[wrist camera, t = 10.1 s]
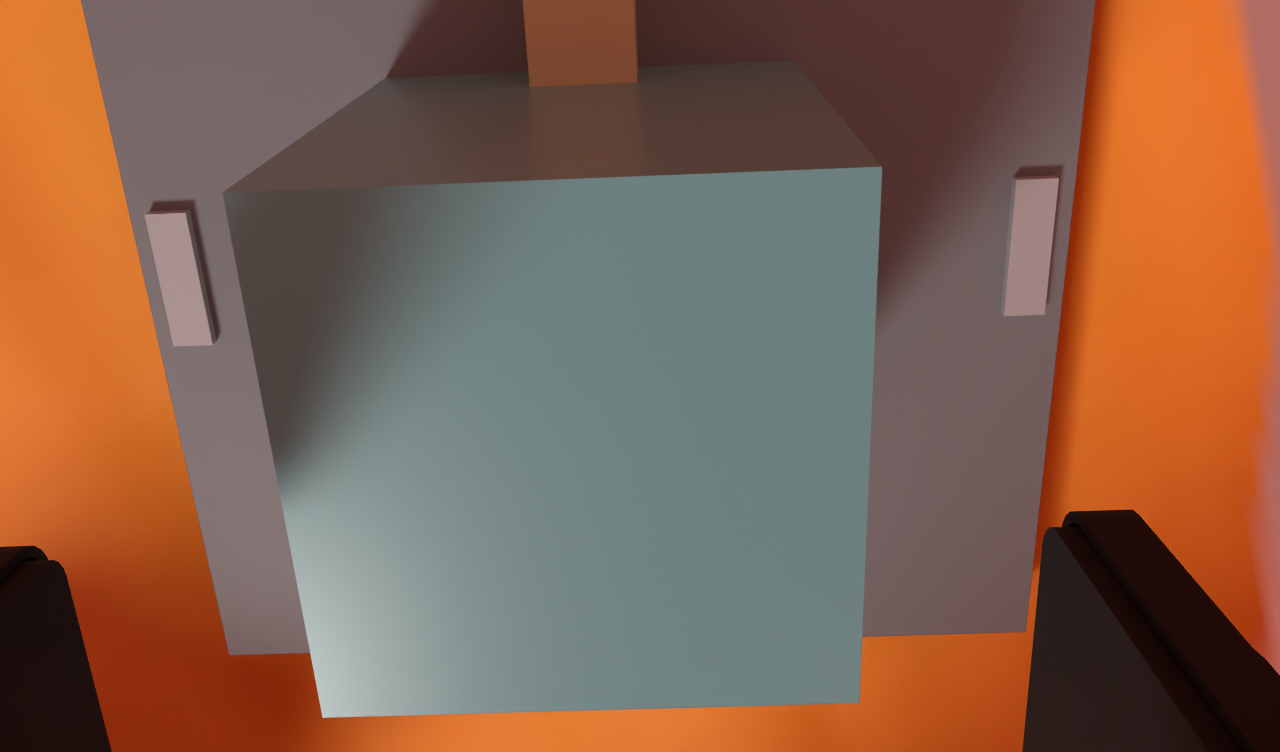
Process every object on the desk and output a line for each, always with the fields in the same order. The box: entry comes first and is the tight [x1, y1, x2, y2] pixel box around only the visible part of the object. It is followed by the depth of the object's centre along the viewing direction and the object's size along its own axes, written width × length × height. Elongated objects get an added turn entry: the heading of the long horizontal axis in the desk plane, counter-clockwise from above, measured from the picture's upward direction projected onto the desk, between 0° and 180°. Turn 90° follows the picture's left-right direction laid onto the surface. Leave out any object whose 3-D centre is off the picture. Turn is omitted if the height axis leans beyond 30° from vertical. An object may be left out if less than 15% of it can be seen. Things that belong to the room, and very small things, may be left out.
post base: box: [81, 0, 1095, 655], centre depth 17 cm, size 16×16×7 cm
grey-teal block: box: [222, 0, 882, 718], centre depth 16 cm, size 12×7×8 cm, turn 2°
